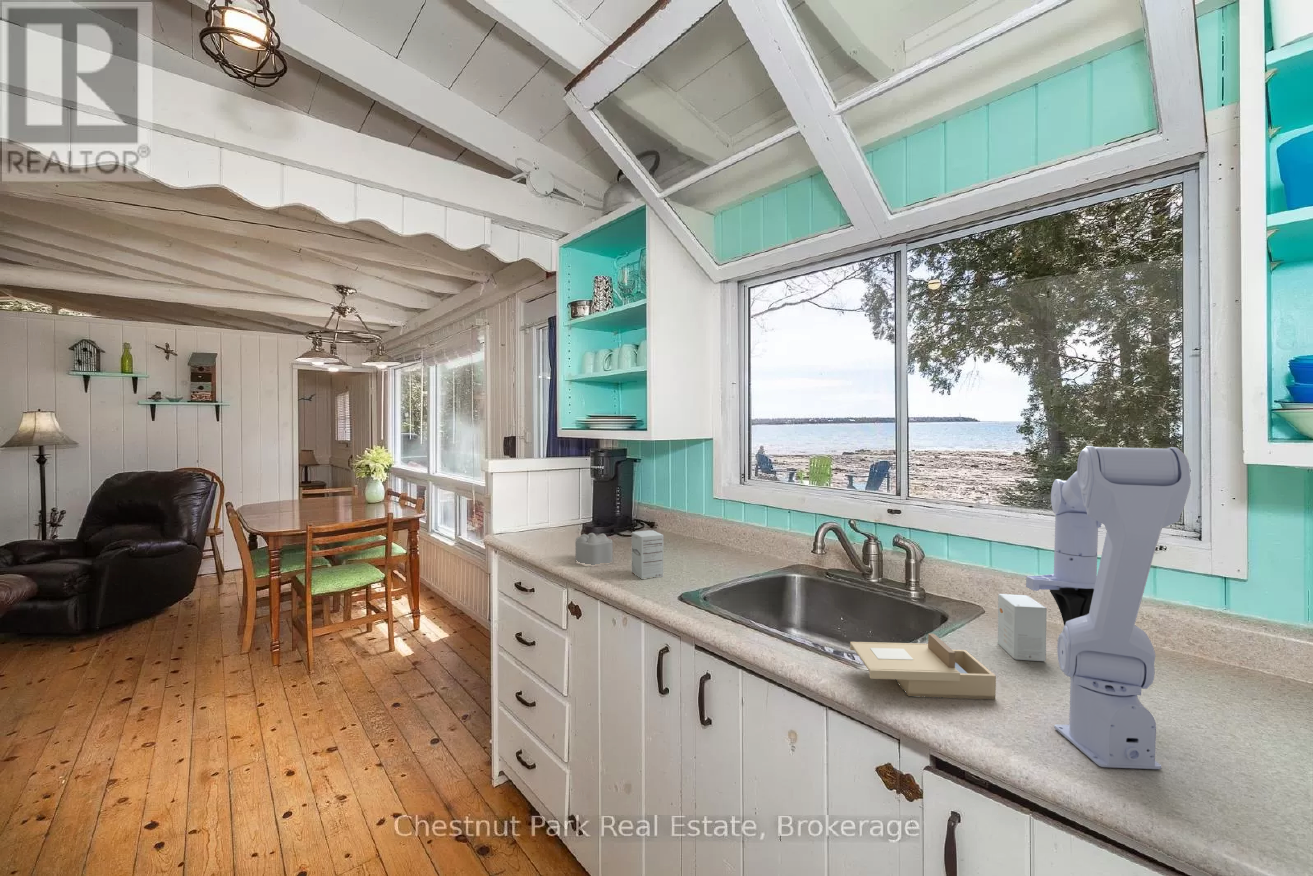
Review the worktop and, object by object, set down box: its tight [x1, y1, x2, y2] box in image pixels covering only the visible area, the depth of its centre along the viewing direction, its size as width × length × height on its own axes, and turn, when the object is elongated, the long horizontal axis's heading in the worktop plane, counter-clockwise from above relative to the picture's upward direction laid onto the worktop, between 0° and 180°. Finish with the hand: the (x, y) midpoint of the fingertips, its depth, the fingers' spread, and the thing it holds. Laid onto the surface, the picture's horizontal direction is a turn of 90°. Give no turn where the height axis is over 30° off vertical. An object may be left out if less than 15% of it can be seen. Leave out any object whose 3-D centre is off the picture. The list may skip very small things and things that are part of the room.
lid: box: [849, 633, 960, 681], centre depth 96 cm, size 12×14×4 cm
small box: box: [997, 593, 1048, 662], centre depth 108 cm, size 8×6×10 cm
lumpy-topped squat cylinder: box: [575, 532, 614, 565], centre depth 177 cm, size 10×13×9 cm
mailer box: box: [895, 649, 997, 701], centre depth 96 cm, size 10×14×4 cm
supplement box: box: [631, 529, 664, 580], centre depth 161 cm, size 7×7×13 cm
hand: (1073, 632), depth 92 cm, fingers closed
